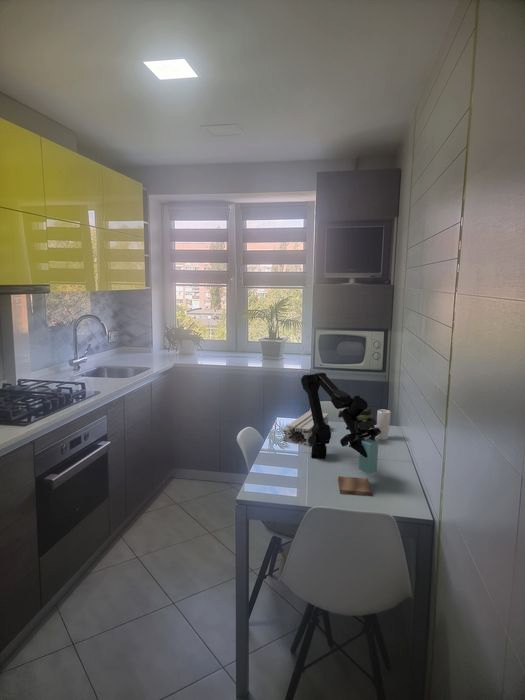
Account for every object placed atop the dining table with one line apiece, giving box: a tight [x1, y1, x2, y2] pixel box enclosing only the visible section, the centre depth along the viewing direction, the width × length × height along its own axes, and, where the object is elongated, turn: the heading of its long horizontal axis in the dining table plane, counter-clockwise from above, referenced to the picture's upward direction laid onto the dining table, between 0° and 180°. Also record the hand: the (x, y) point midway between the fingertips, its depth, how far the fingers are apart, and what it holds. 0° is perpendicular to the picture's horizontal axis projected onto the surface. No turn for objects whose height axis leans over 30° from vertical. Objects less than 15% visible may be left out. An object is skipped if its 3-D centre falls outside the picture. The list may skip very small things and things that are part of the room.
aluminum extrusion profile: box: [281, 410, 330, 447], centre depth 229 cm, size 14×31×10 cm, turn 153°
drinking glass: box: [376, 408, 392, 441], centre depth 226 cm, size 7×7×15 cm
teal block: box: [358, 439, 379, 475], centre depth 172 cm, size 5×5×12 cm
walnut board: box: [337, 475, 373, 497], centre depth 170 cm, size 12×12×2 cm
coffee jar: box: [357, 406, 372, 441], centre depth 221 cm, size 10×8×19 cm
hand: (371, 455), depth 171 cm, fingers closed on teal block, 5 cm apart
